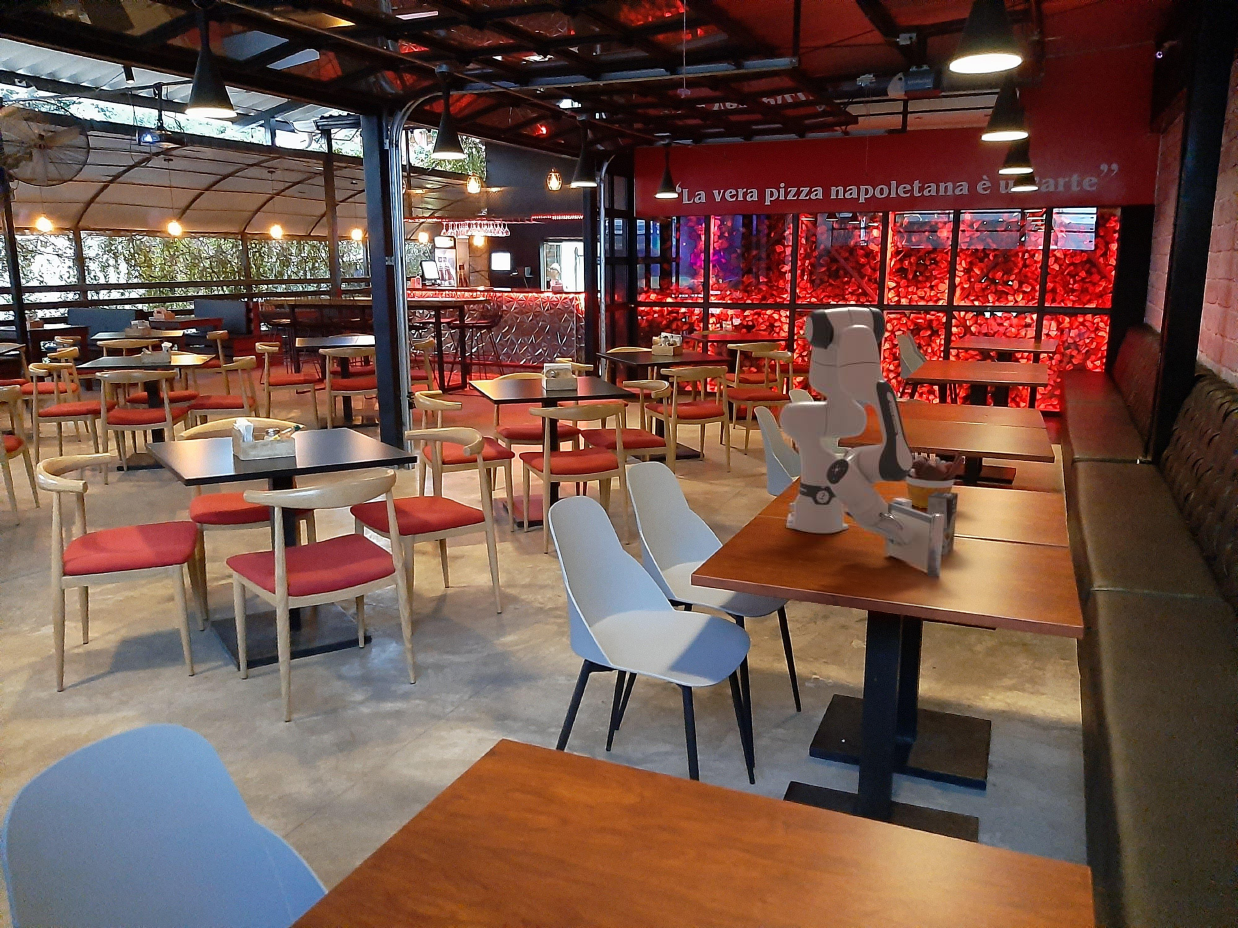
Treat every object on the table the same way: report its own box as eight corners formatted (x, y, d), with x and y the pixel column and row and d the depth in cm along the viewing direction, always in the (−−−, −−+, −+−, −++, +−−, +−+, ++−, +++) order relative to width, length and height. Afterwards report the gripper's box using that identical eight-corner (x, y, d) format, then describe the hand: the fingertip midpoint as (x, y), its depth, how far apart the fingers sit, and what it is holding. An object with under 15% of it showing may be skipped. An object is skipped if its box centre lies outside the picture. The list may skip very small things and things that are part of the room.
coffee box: (947, 555, 248) (951, 499, 245) (923, 552, 251) (927, 496, 248) (953, 548, 256) (958, 492, 253) (930, 544, 259) (934, 490, 256)
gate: (931, 569, 232) (935, 516, 229) (926, 570, 231) (930, 517, 229) (889, 551, 248) (892, 502, 245) (884, 552, 247) (888, 502, 244)
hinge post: (925, 573, 232) (930, 513, 229) (937, 573, 232) (942, 513, 229) (929, 577, 229) (933, 516, 226) (941, 577, 229) (946, 516, 226)
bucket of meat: (896, 508, 302) (900, 450, 299) (901, 498, 317) (905, 442, 314) (960, 514, 295) (965, 454, 291) (961, 504, 310) (966, 447, 306)
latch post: (907, 558, 245) (911, 500, 242) (898, 559, 244) (902, 501, 241) (898, 554, 249) (902, 497, 246) (889, 555, 248) (893, 498, 245)
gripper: (903, 509, 226) (931, 544, 232) (854, 493, 245) (881, 525, 250) (887, 528, 226) (915, 562, 231) (839, 509, 244) (866, 542, 250)
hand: (897, 543), depth 241 cm, fingers closed, pressing on gate
